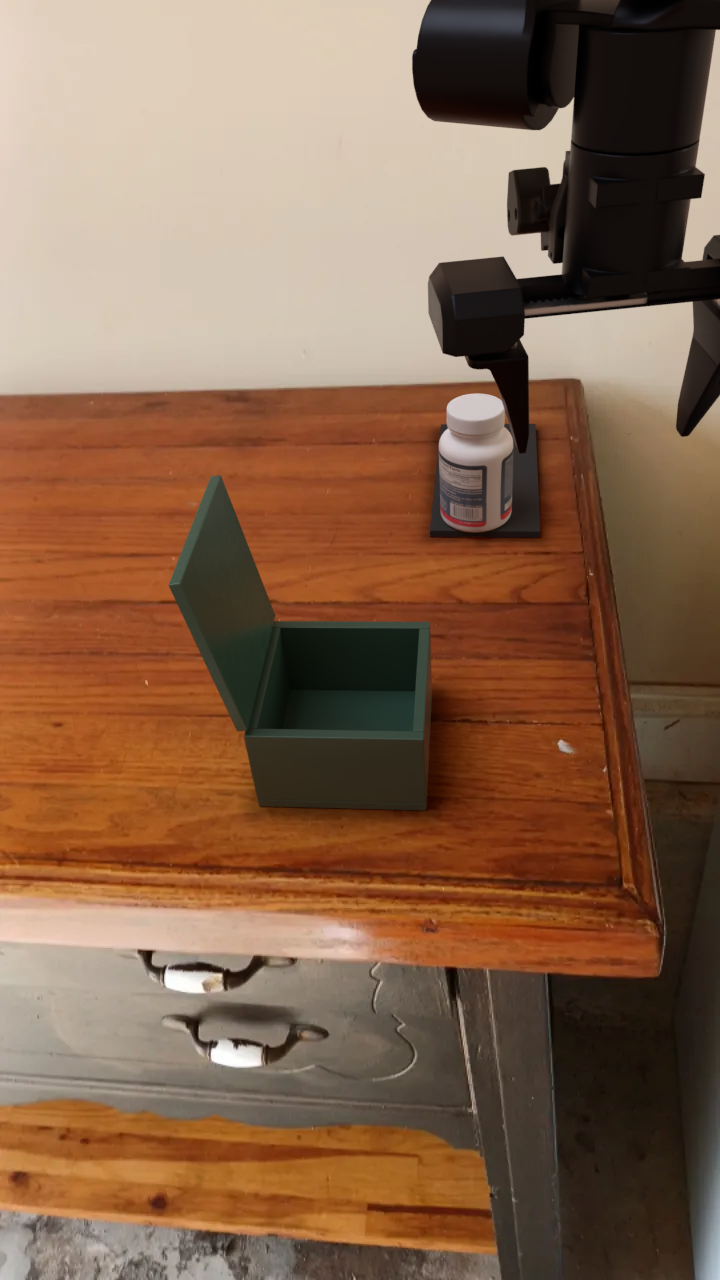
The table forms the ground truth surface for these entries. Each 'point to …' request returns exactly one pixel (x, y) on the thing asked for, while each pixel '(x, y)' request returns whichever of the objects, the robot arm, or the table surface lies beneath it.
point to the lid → (224, 602)
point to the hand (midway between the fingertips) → (601, 441)
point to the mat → (523, 498)
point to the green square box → (343, 716)
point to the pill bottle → (476, 464)
